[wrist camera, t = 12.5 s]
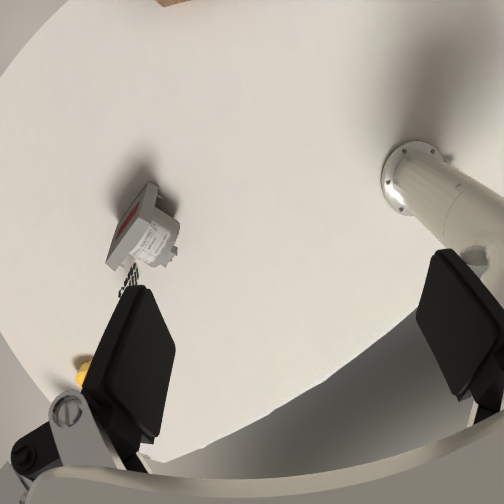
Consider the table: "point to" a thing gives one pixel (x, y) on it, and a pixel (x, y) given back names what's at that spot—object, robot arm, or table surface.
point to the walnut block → (170, 2)
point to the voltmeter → (144, 234)
